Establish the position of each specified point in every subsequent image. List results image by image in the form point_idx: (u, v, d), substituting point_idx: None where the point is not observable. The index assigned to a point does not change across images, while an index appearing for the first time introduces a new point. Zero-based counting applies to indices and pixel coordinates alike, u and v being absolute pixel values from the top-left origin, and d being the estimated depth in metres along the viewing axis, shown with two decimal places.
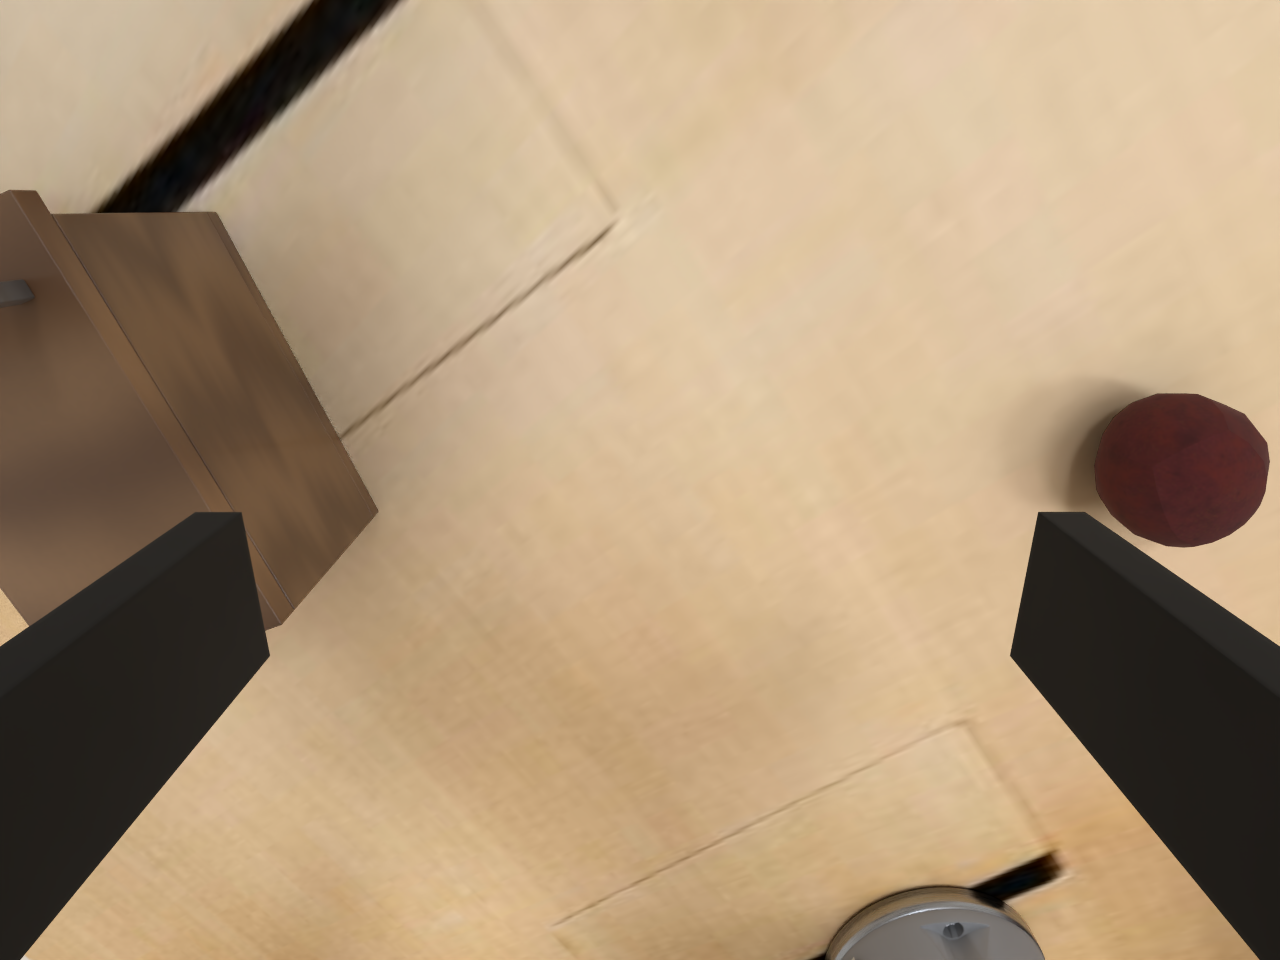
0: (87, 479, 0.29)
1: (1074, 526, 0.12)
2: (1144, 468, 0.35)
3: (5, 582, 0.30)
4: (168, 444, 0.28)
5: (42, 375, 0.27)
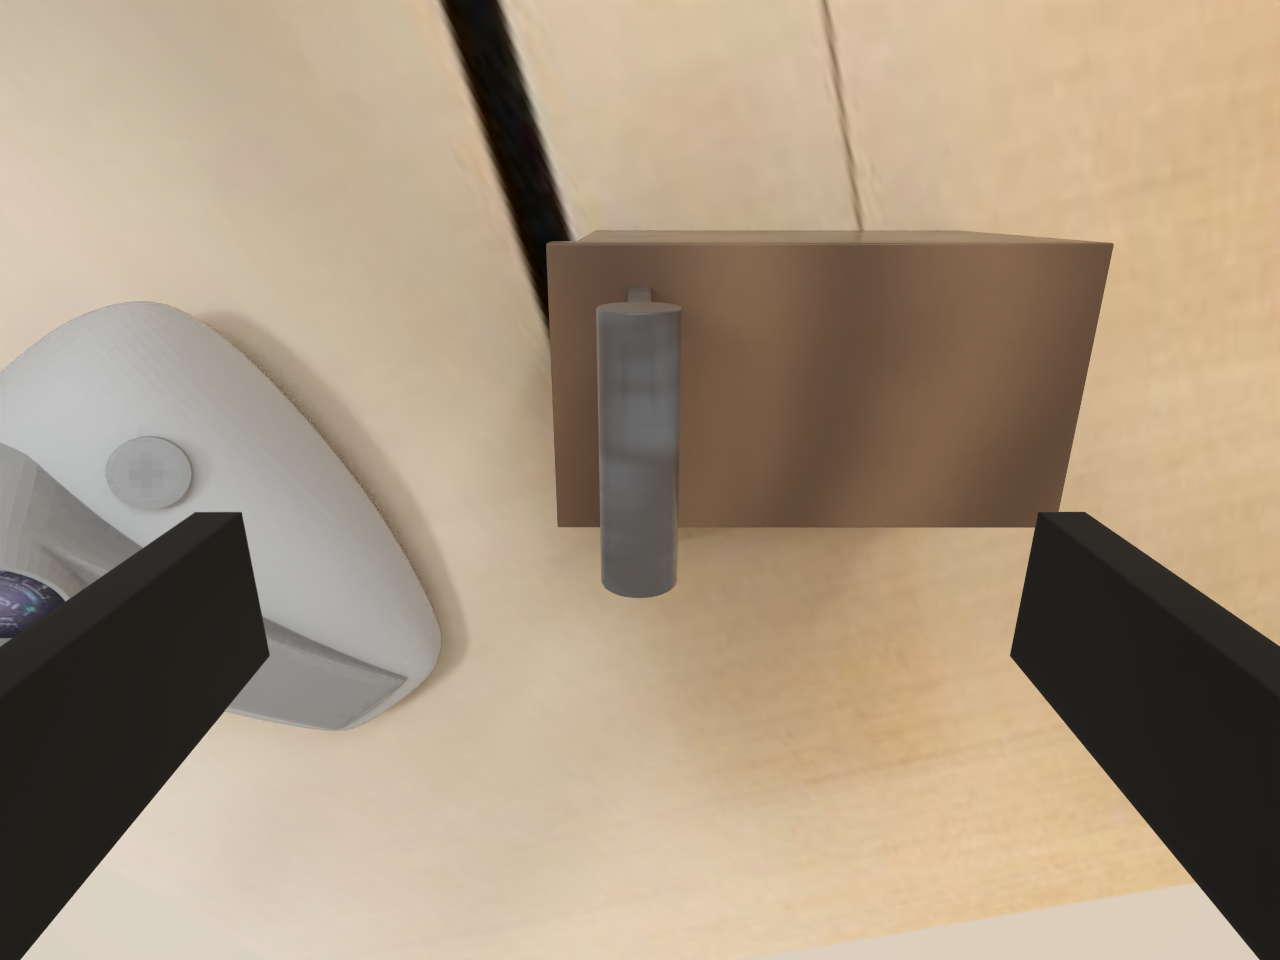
0: (842, 359, 0.25)
1: (1074, 526, 0.12)
2: None
3: (898, 518, 0.27)
4: (850, 243, 0.24)
5: (723, 333, 0.25)
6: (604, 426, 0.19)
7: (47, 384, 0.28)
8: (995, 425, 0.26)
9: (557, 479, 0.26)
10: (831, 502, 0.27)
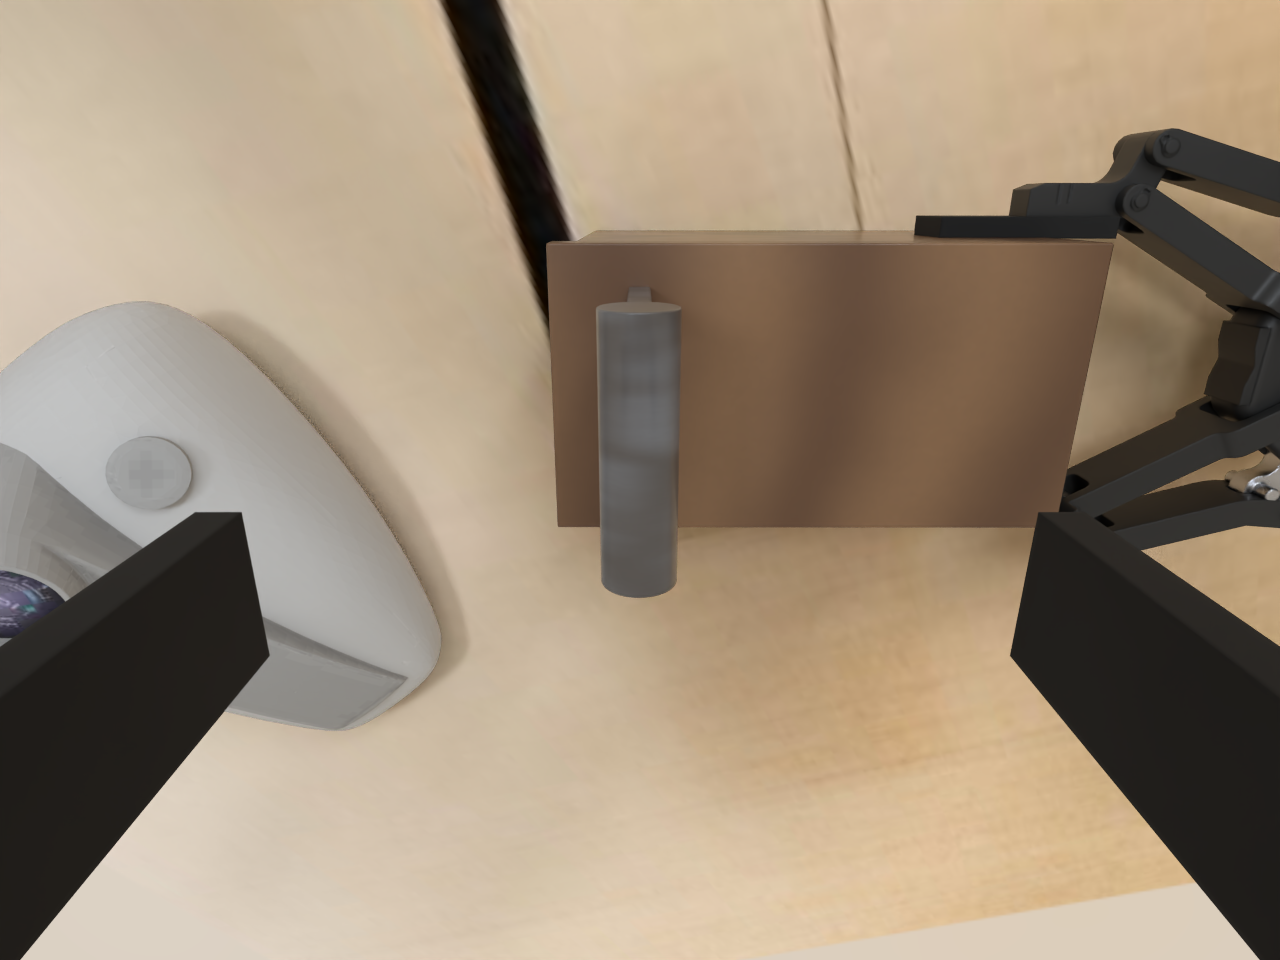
0: (842, 359, 0.25)
1: (1074, 526, 0.12)
2: None
3: (898, 518, 0.27)
4: (850, 243, 0.24)
5: (723, 333, 0.25)
6: (604, 426, 0.19)
7: (47, 384, 0.28)
8: (995, 425, 0.26)
9: (557, 479, 0.26)
10: (831, 502, 0.27)
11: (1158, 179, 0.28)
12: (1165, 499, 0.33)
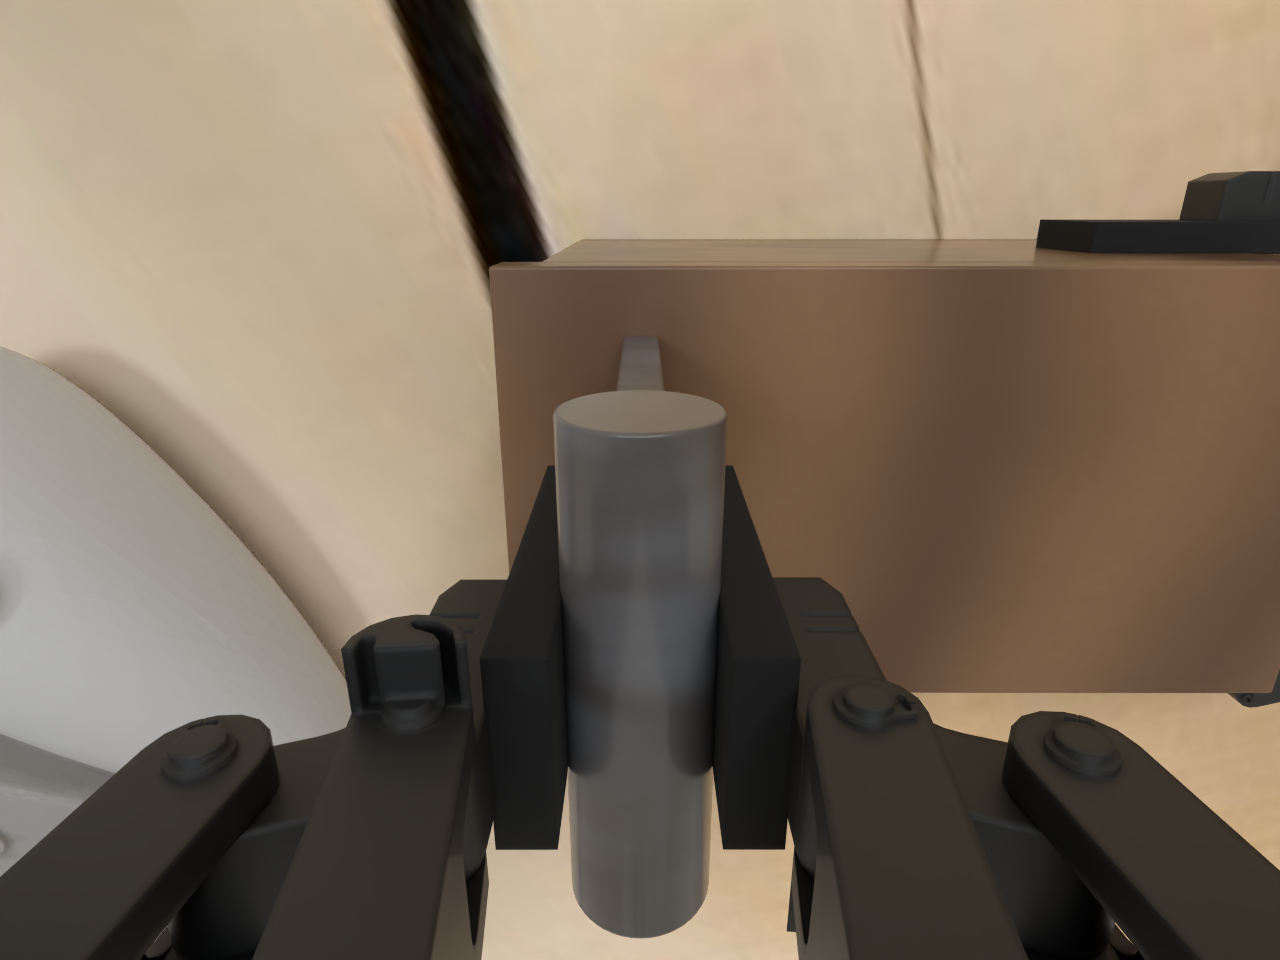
0: (961, 449, 0.16)
1: None
2: None
3: (1034, 679, 0.18)
4: (986, 267, 0.15)
5: (774, 409, 0.15)
6: (571, 640, 0.09)
7: None
8: (1195, 547, 0.17)
9: None
10: (933, 658, 0.17)
11: None
12: None
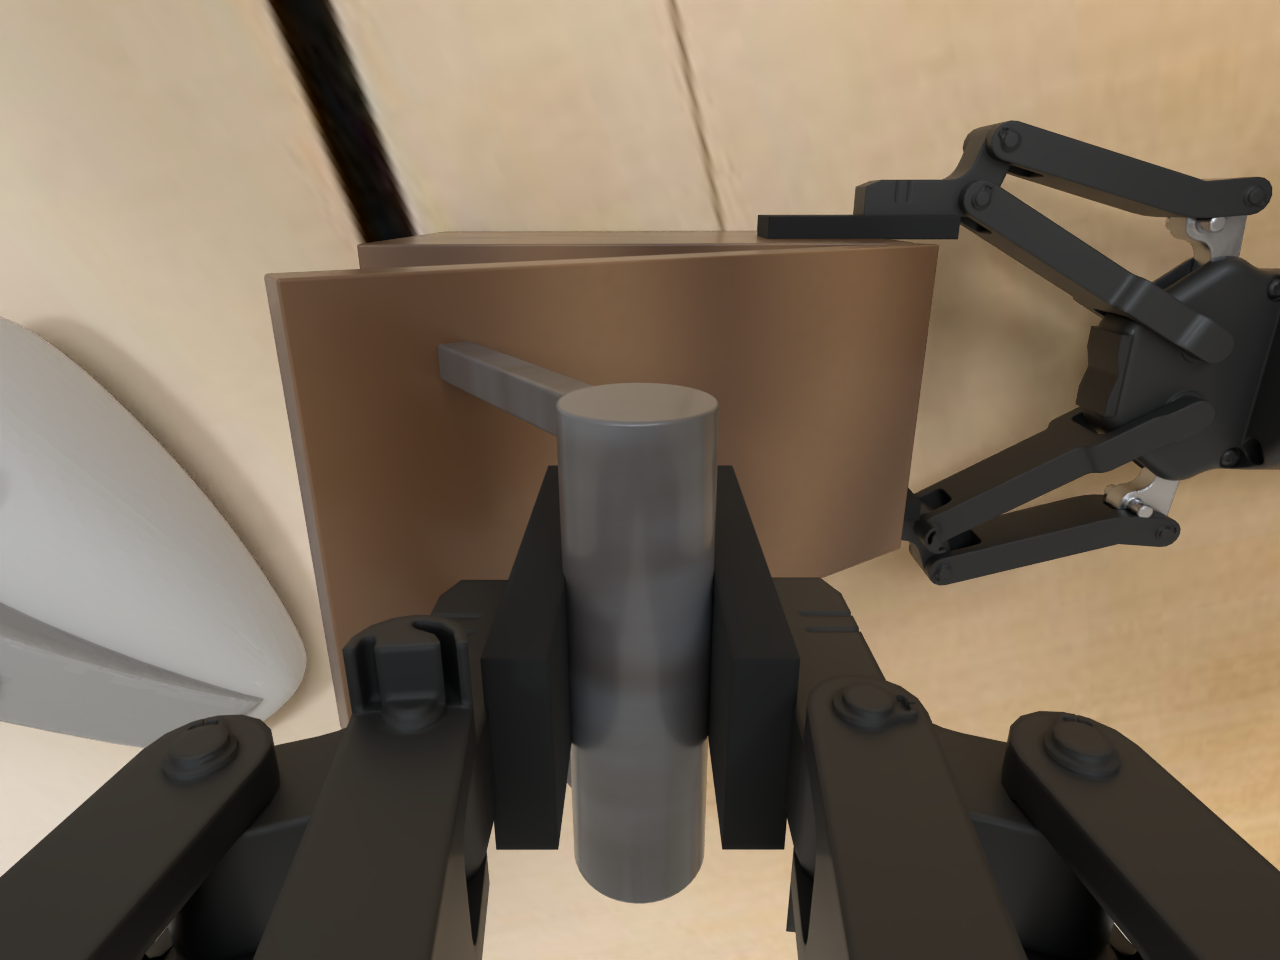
0: None
1: None
2: None
3: None
4: (720, 256, 0.18)
5: None
6: (607, 635, 0.10)
7: None
8: (855, 455, 0.23)
9: (346, 682, 0.15)
10: None
11: (1002, 175, 0.26)
12: (1039, 515, 0.31)
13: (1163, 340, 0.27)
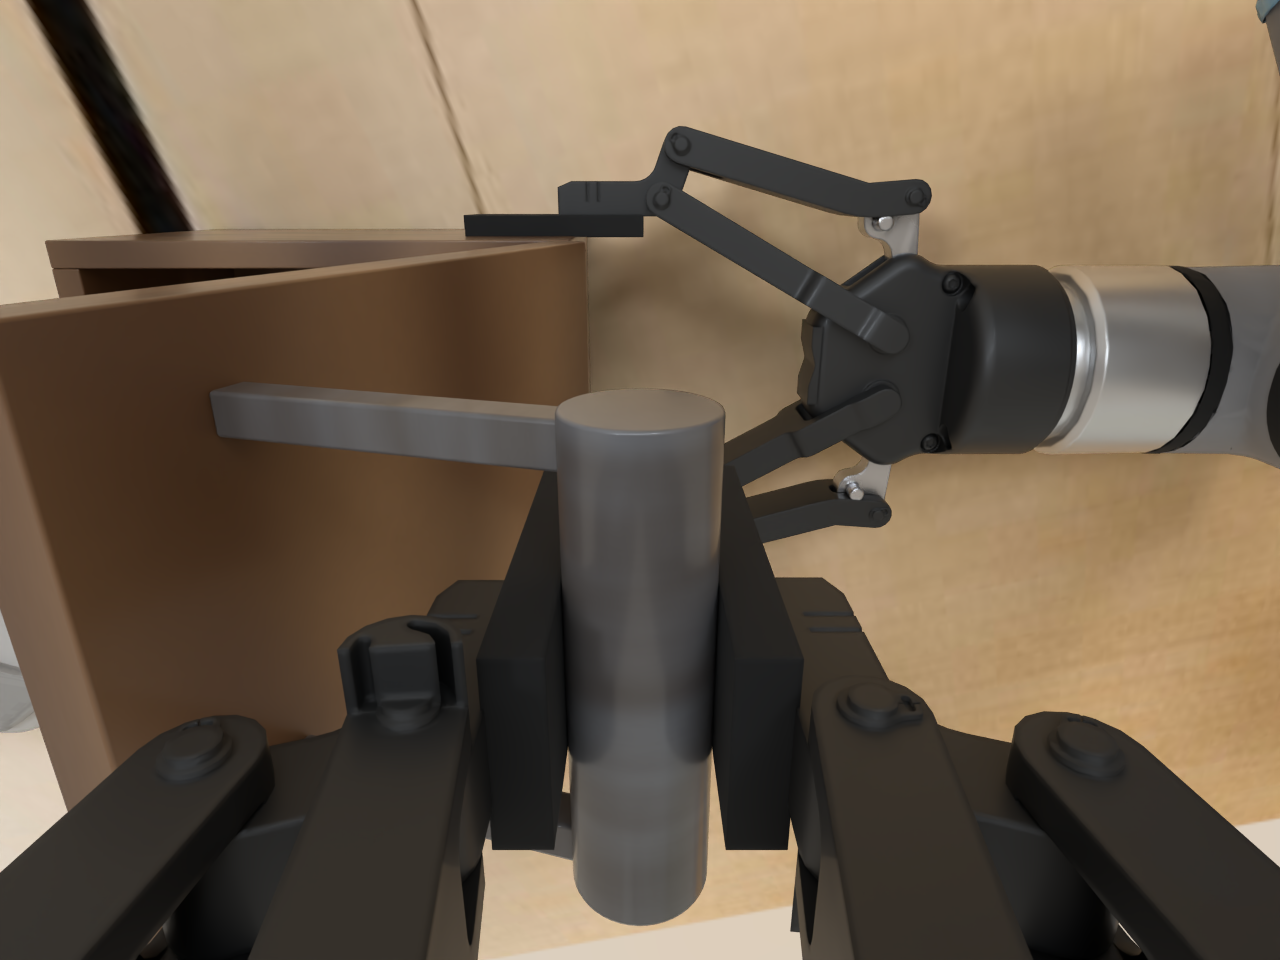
0: None
1: None
2: None
3: None
4: (451, 259, 0.16)
5: None
6: (664, 652, 0.09)
7: None
8: None
9: None
10: None
11: (684, 177, 0.27)
12: (771, 498, 0.33)
13: (851, 332, 0.29)
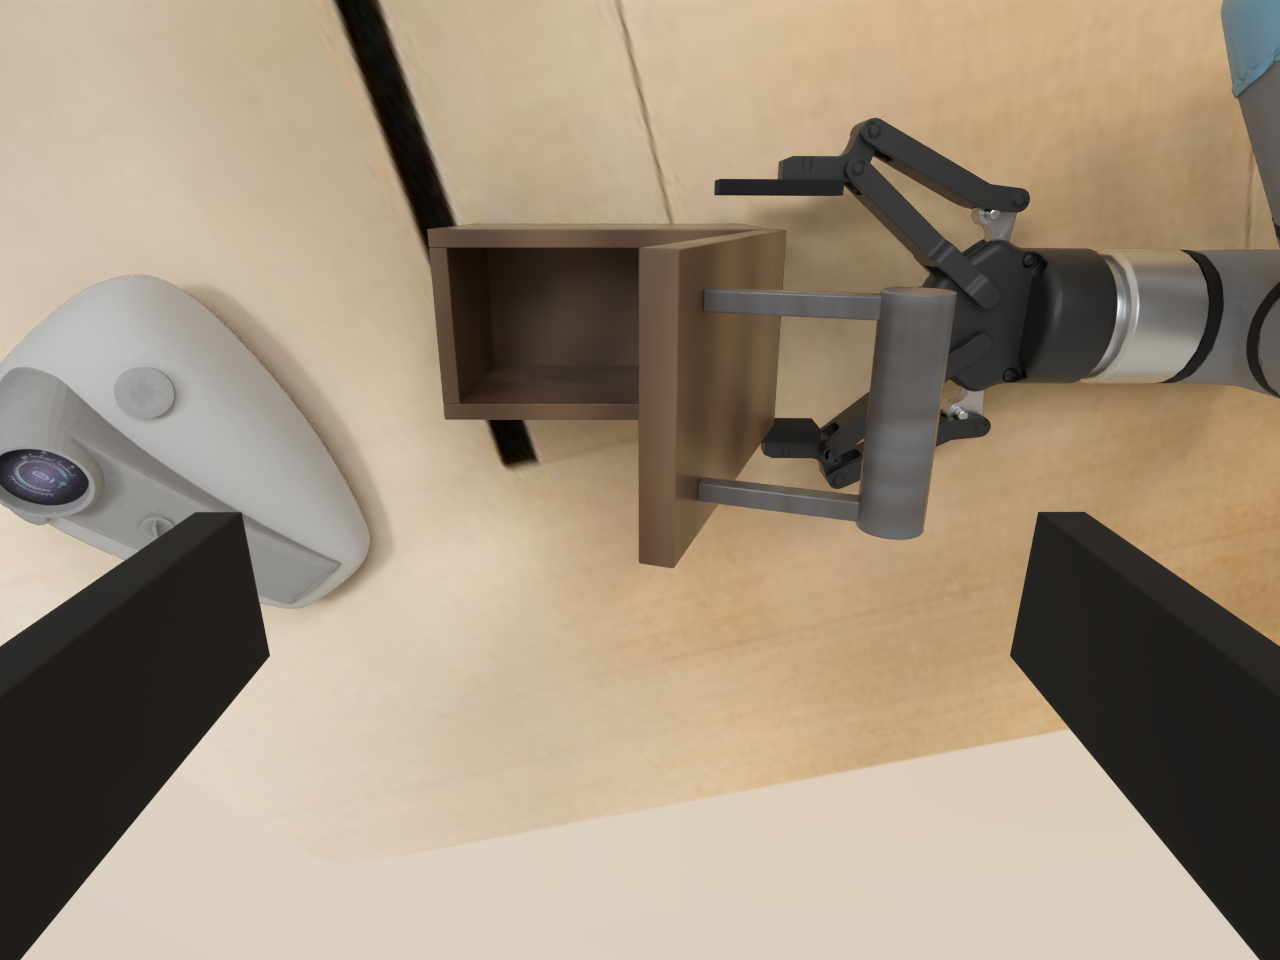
0: (746, 331, 0.30)
1: (1074, 526, 0.12)
2: None
3: (752, 448, 0.35)
4: (750, 236, 0.29)
5: (724, 324, 0.27)
6: (926, 395, 0.22)
7: (73, 329, 0.41)
8: (768, 362, 0.36)
9: (676, 514, 0.23)
10: (741, 451, 0.32)
11: (872, 153, 0.39)
12: None
13: (959, 289, 0.41)
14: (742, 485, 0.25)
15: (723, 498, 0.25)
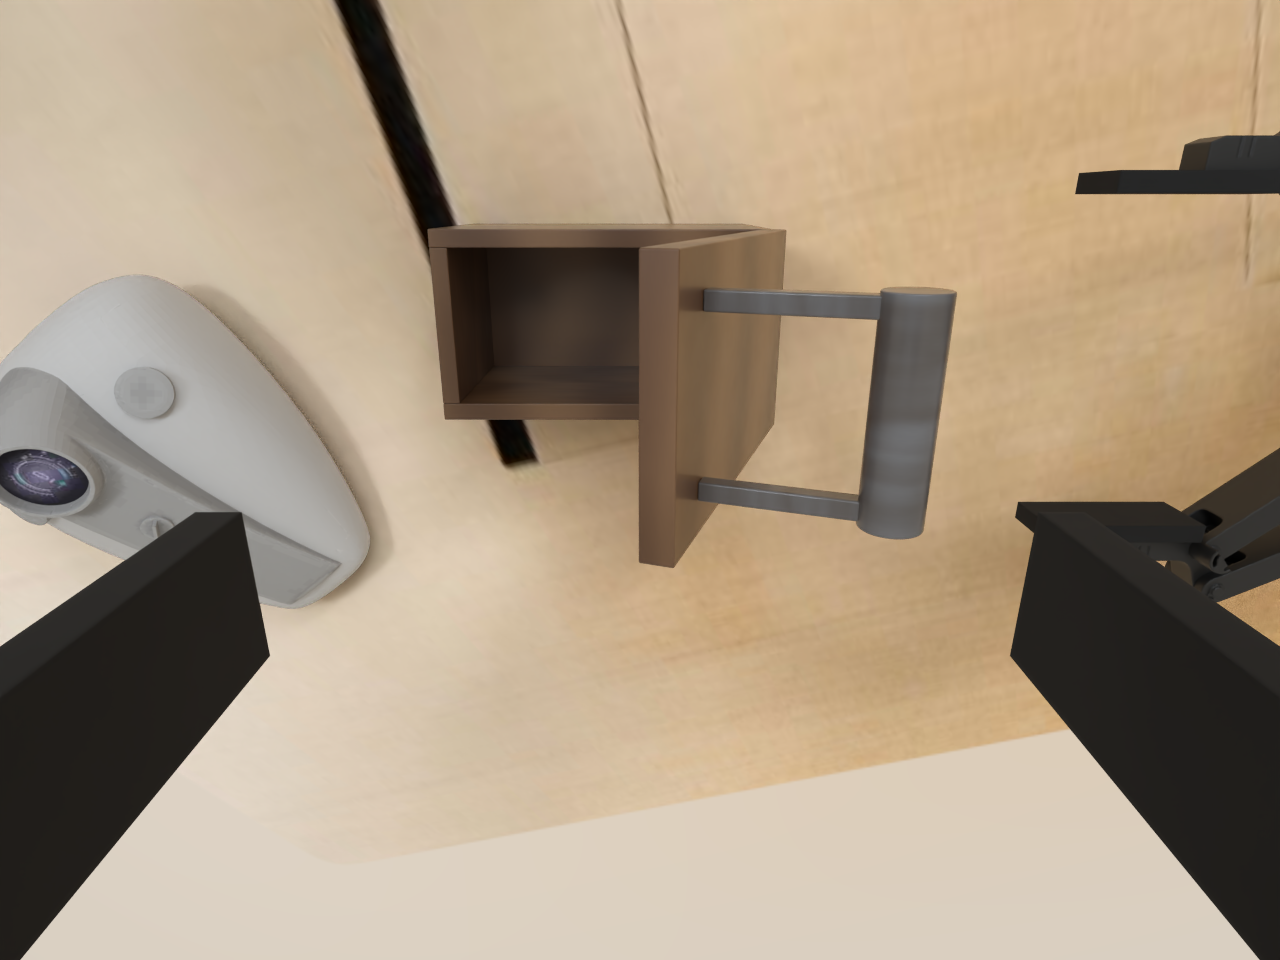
0: (746, 331, 0.30)
1: (1074, 526, 0.12)
2: None
3: (752, 448, 0.35)
4: (751, 236, 0.29)
5: (724, 324, 0.27)
6: (926, 395, 0.22)
7: (73, 329, 0.41)
8: (768, 362, 0.36)
9: (676, 514, 0.23)
10: (742, 451, 0.32)
11: None
12: None
13: None
14: (742, 485, 0.25)
15: (723, 497, 0.25)
